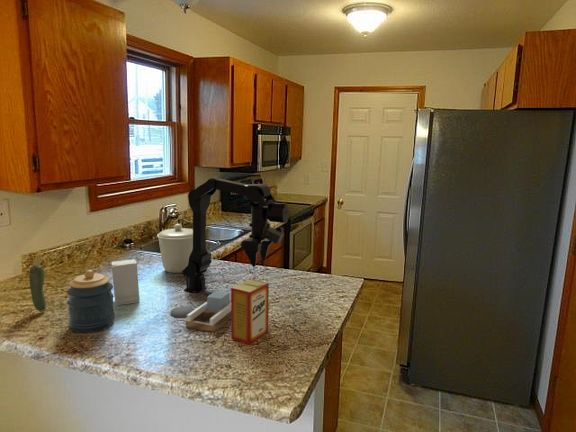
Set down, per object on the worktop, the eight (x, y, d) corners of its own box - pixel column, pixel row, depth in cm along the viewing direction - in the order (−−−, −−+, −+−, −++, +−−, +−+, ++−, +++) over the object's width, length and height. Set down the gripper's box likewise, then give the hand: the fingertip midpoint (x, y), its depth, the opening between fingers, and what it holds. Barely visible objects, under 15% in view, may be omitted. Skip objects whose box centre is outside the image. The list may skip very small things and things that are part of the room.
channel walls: (187, 320, 130) (186, 314, 129) (209, 304, 143) (209, 299, 142) (212, 325, 127) (212, 319, 126) (233, 308, 140) (233, 303, 139)
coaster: (165, 315, 138) (165, 313, 138) (179, 306, 146) (179, 305, 146) (186, 319, 136) (186, 317, 136) (199, 310, 143) (199, 308, 143)
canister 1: (85, 337, 122) (81, 279, 119) (60, 326, 129) (55, 271, 126) (123, 322, 133) (120, 268, 130) (98, 312, 140) (95, 261, 136)
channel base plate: (185, 326, 130) (185, 320, 130) (223, 299, 153) (223, 293, 153) (214, 332, 127) (214, 325, 127) (248, 302, 150) (248, 297, 150)
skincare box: (137, 297, 154) (136, 258, 151) (139, 302, 149) (138, 262, 146) (113, 300, 150) (111, 260, 148) (114, 306, 145) (112, 265, 142)
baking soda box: (248, 344, 120) (249, 291, 117) (231, 338, 123) (231, 286, 120) (268, 332, 127) (268, 282, 125) (251, 327, 131) (251, 278, 128)
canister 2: (149, 271, 185) (147, 224, 181) (181, 261, 199) (180, 218, 196) (177, 279, 175) (175, 229, 171) (208, 268, 189) (207, 223, 186)
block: (207, 311, 137) (207, 296, 136) (216, 304, 143) (216, 290, 142) (221, 313, 136) (220, 298, 135) (229, 306, 141) (229, 292, 140)
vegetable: (32, 315, 136) (26, 256, 133) (32, 310, 140) (27, 253, 136) (47, 313, 138) (42, 254, 135) (48, 308, 142) (43, 251, 139)
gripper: (271, 227, 136) (270, 273, 139) (289, 217, 153) (288, 258, 156) (240, 224, 139) (240, 269, 142) (261, 215, 157) (260, 255, 159)
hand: (259, 263), depth 150 cm, fingers open, 9 cm apart
